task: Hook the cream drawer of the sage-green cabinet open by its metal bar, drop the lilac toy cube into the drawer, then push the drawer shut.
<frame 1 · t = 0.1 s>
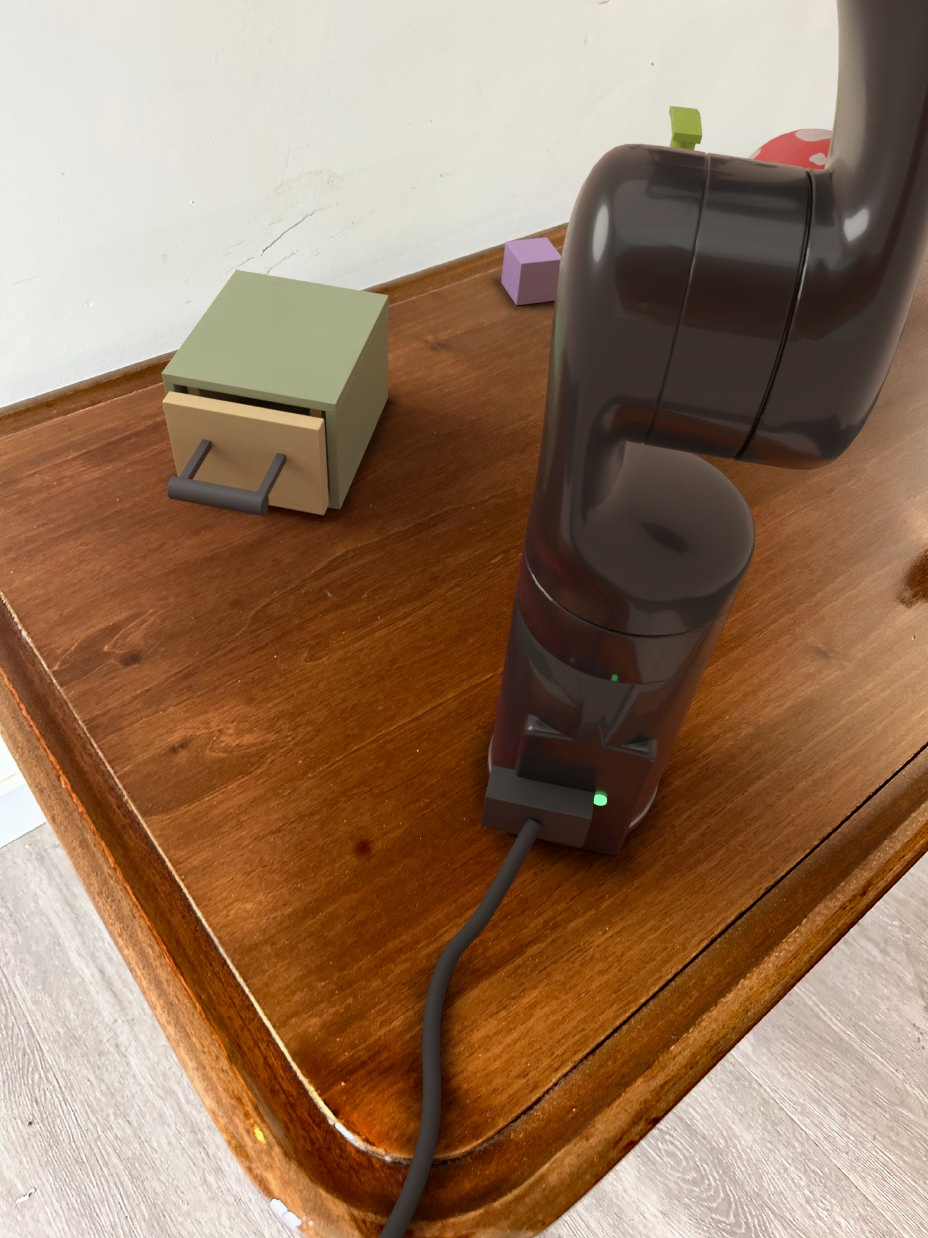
decorative mushroom: (769, 304, 88), on the table
soap dispenser: (628, 373, 79), on the table
drawer: (264, 428, 64), point 4 cm above the table, slide at 0.5 cm
lilac toy cube: (528, 291, 86), on the table
cabinet: (291, 437, 70), on the table
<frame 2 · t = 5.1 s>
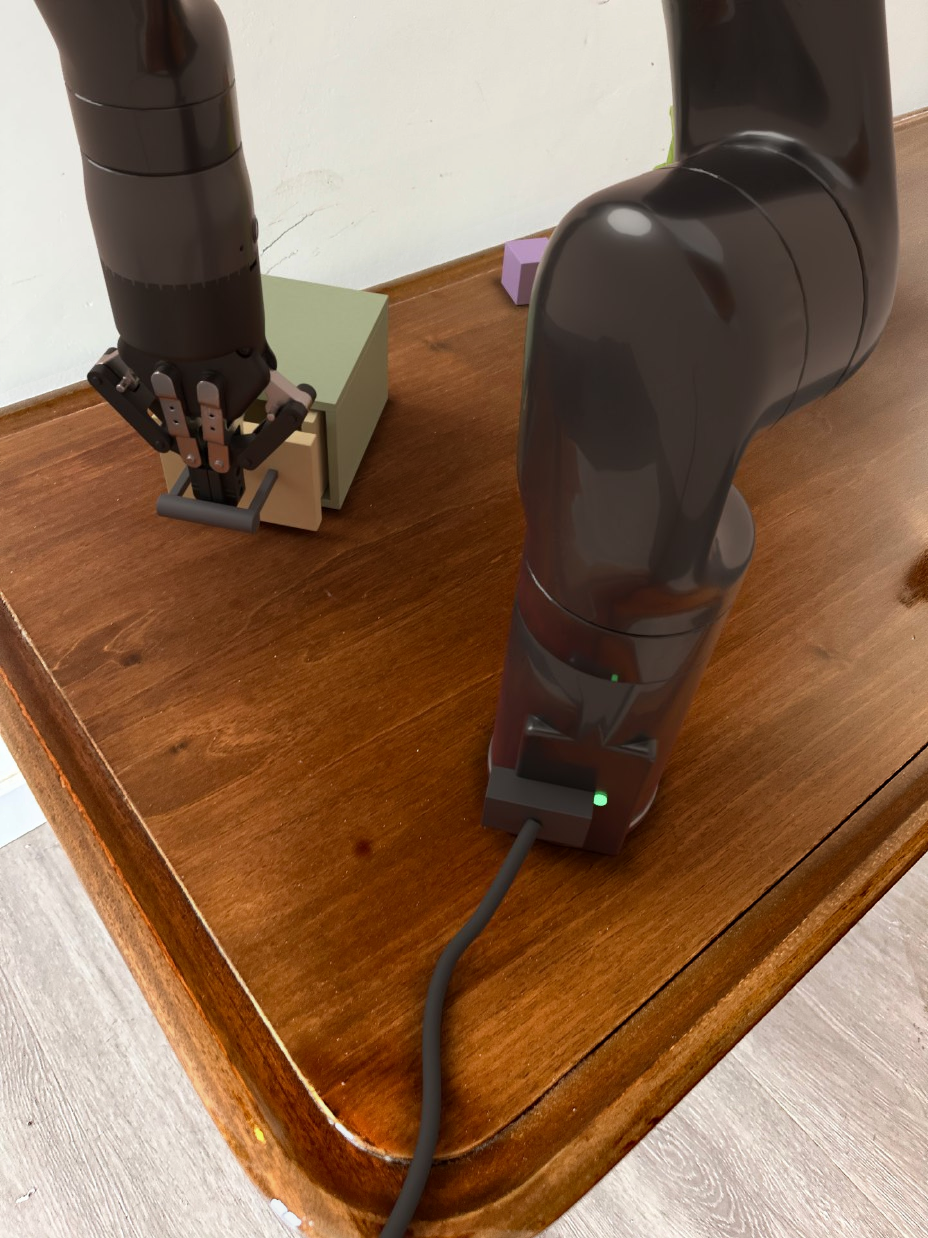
hand: (222, 504, 59), 4 cm above the table, tool pointing down, fingers closed
drawer: (255, 442, 63), point 4 cm above the table, slide at 2.1 cm, touching gripper
everything else where it was.
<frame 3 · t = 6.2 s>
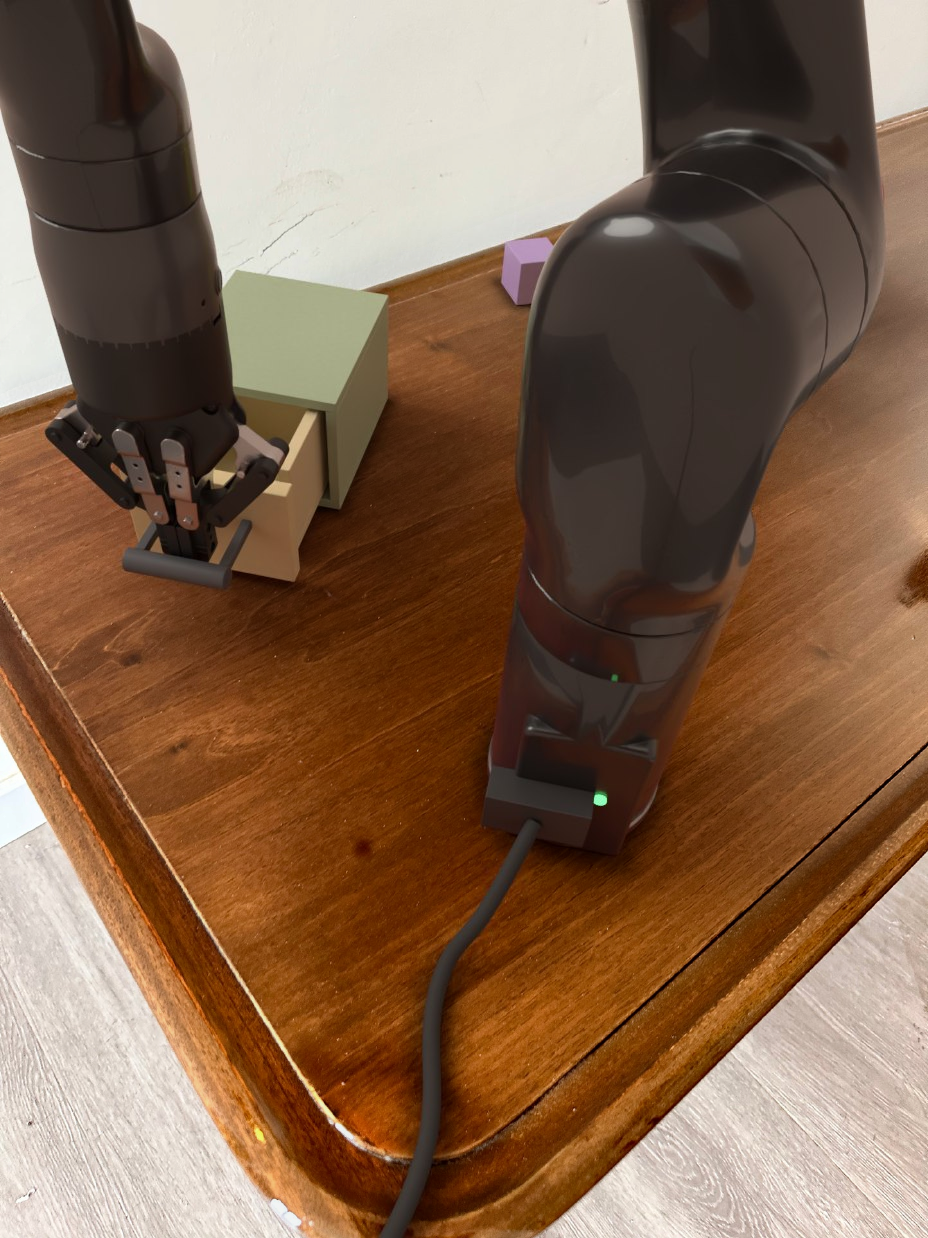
hand: (193, 560, 56), 4 cm above the table, tool pointing down, fingers closed
drawer: (230, 488, 60), point 4 cm above the table, slide at 6.9 cm, touching gripper
everything else where it was.
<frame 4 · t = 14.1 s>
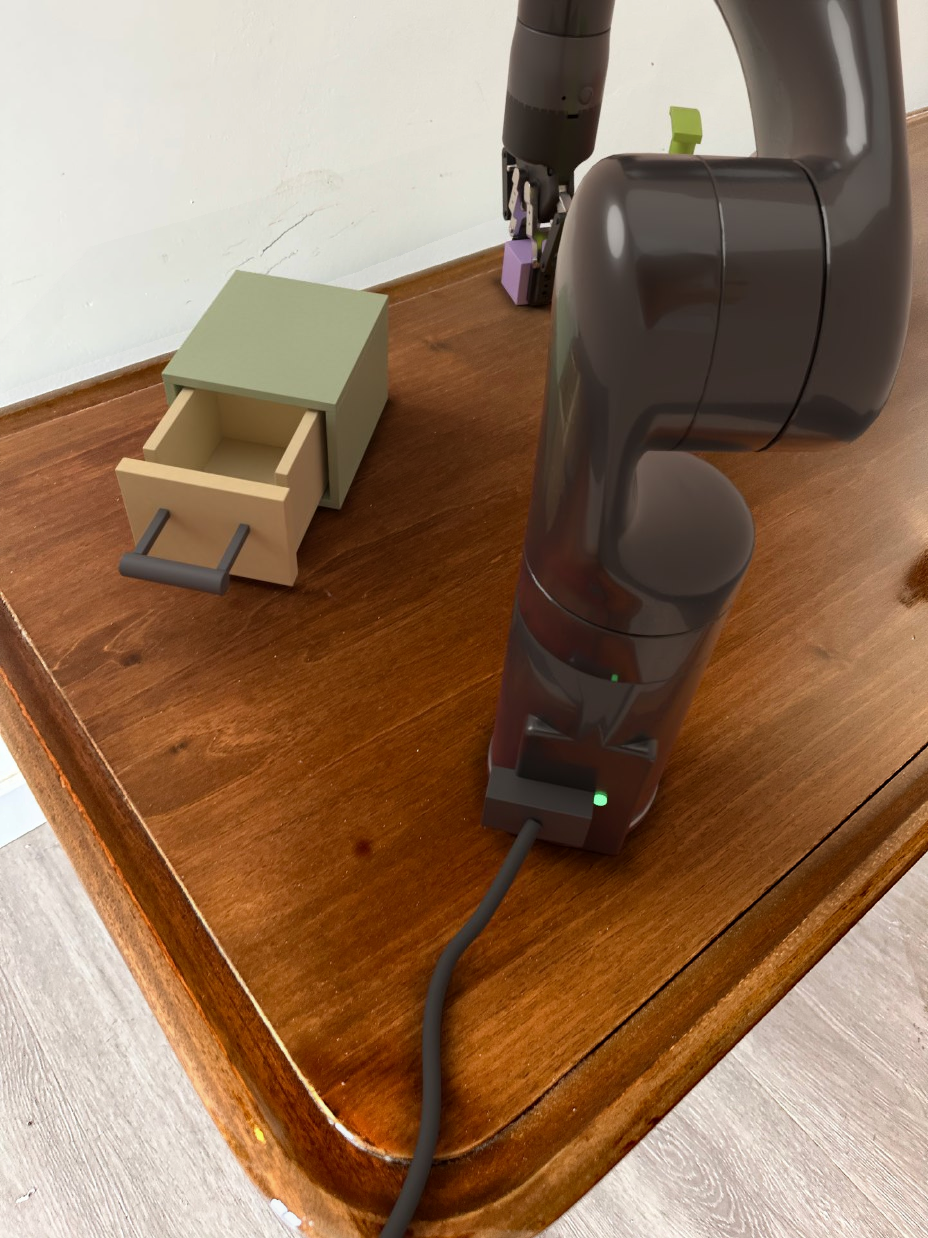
hand: (529, 288, 86), 0 cm above the table, tool pointing down, fingers closed on lilac toy cube, 4 cm apart
drawer: (228, 492, 60), point 4 cm above the table, slide at 7.3 cm
lilac toy cube: (528, 291, 86), on the table, touching gripper
everything else where it was.
when the fingers open (9 cm above the table, at t = 21.0 s): lilac toy cube drops 5 cm and tips over, resting on drawer.
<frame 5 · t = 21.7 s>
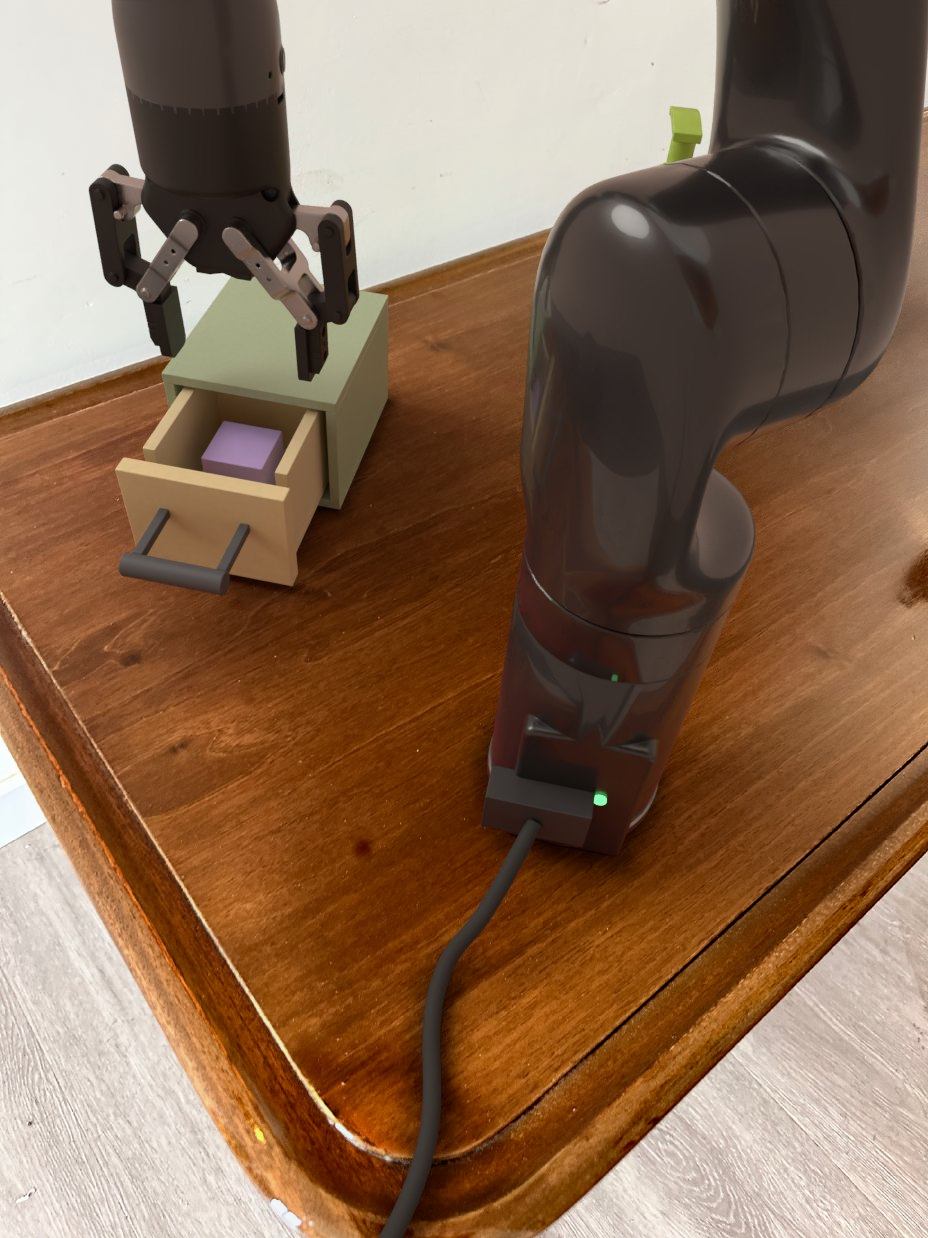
hand: (242, 361, 58), 11 cm above the table, tool pointing down, fingers open, 8 cm apart
drawer: (228, 492, 60), point 4 cm above the table, slide at 7.3 cm, touching lilac toy cube
lilac toy cube: (255, 449, 63), point 4 cm above the table, tilted 90°, touching drawer
everything else where it was.
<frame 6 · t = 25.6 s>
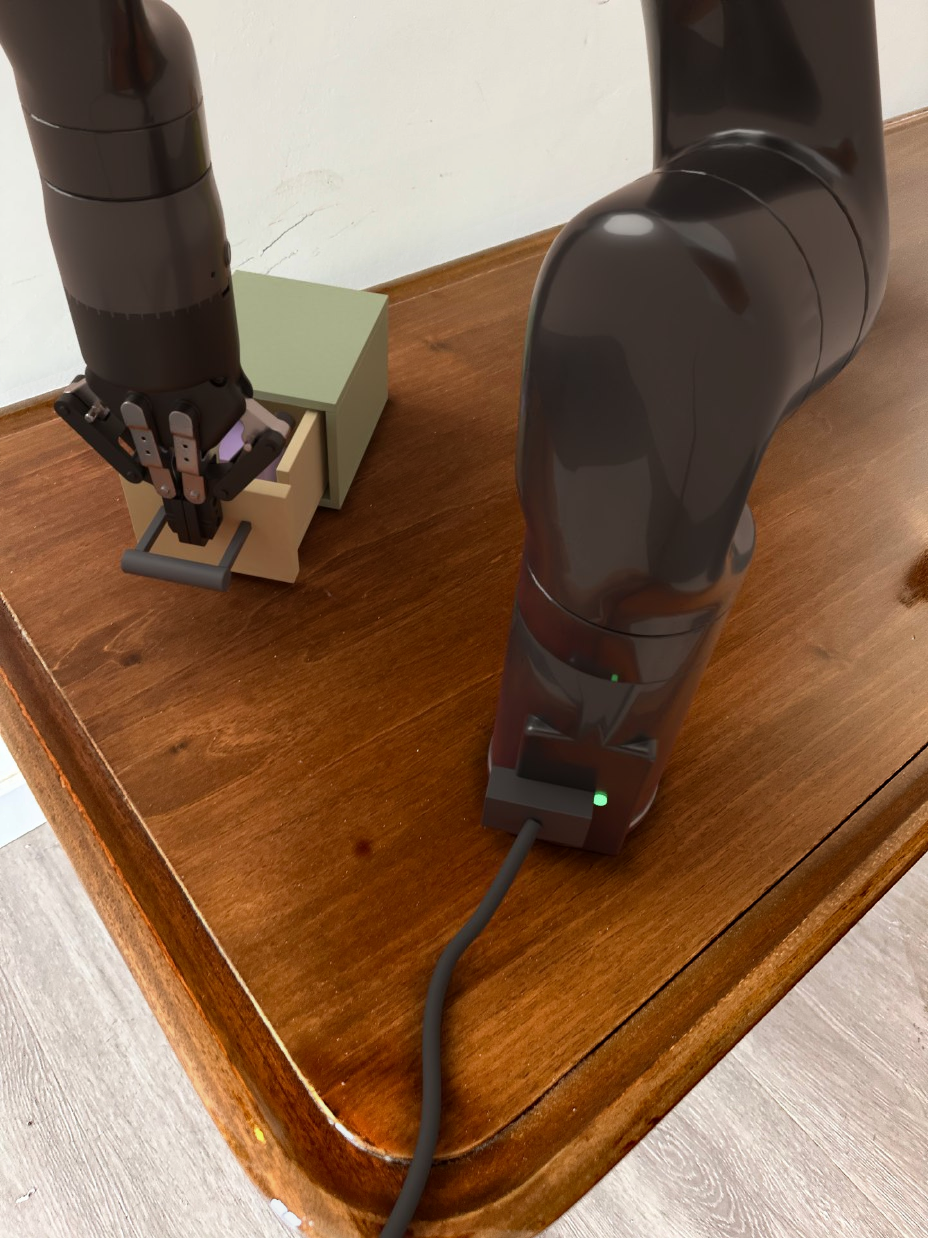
hand: (199, 535, 56), 5 cm above the table, tool pointing down, fingers closed
drawer: (229, 490, 60), point 4 cm above the table, slide at 7.0 cm, touching gripper, lilac toy cube
everything else where it was.
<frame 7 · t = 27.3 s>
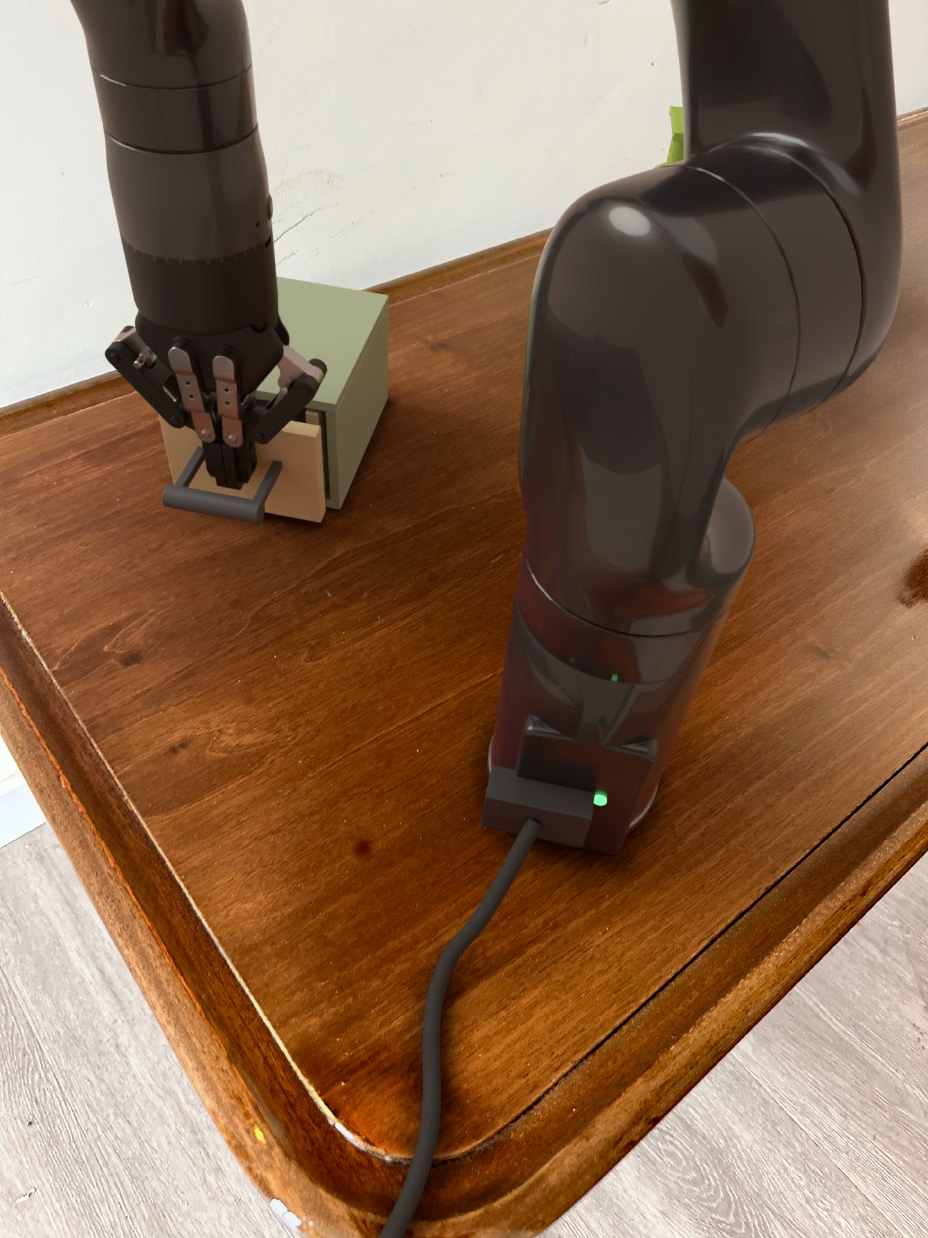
hand: (234, 480, 61), 4 cm above the table, tool pointing down, fingers closed
drawer: (260, 434, 63), point 4 cm above the table, slide at 1.3 cm, touching gripper, lilac toy cube
lilac toy cube: (284, 397, 67), point 4 cm above the table, tilted 90°, touching drawer
everything else where it was.
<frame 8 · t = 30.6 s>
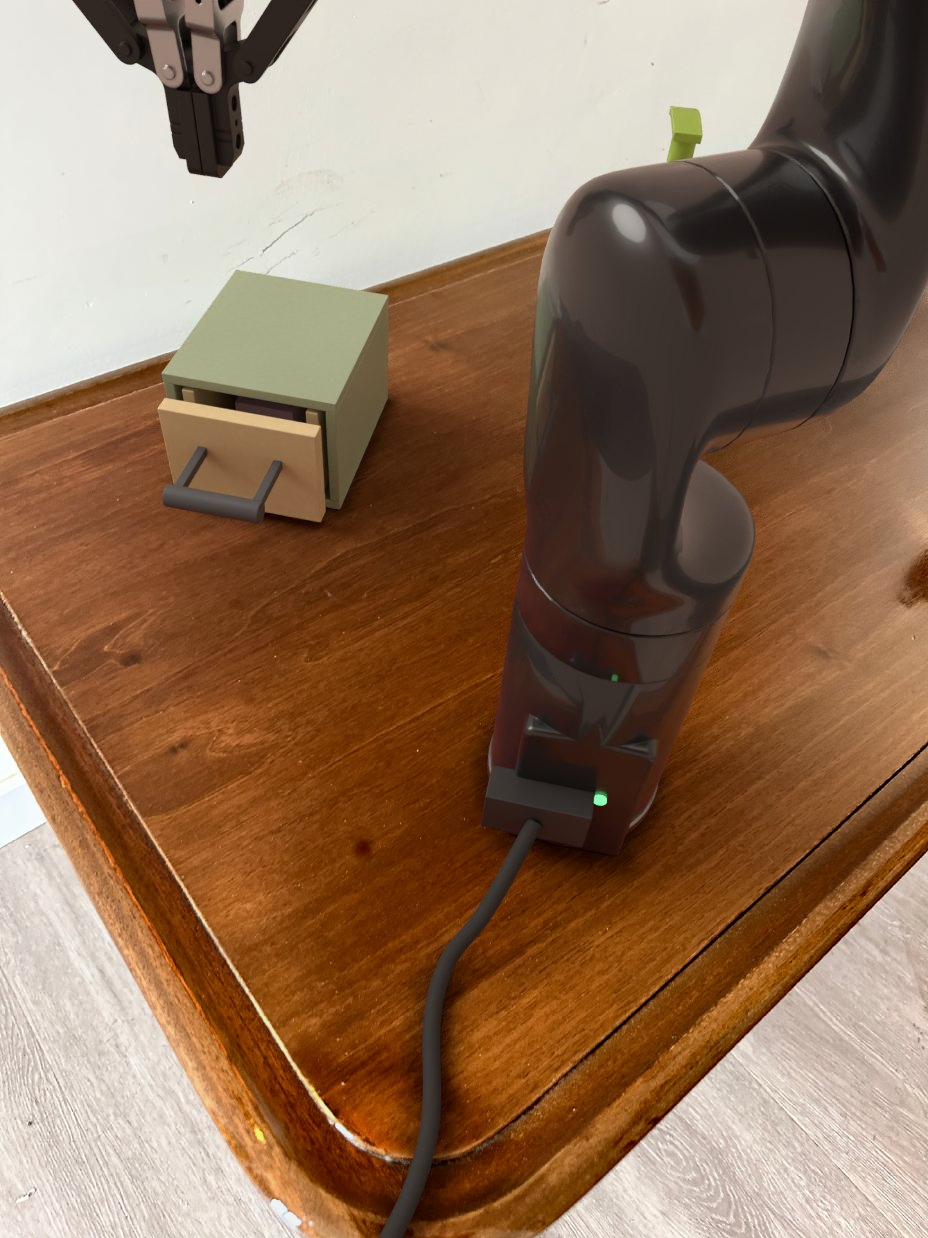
hand: (213, 168, 44), 25 cm above the table, tool pointing down, fingers closed
drawer: (260, 434, 63), point 4 cm above the table, slide at 1.2 cm, touching lilac toy cube
everything else where it was.
at the end: drawer pulled out 7.3 cm at the most during the clip, back to 1.2 cm at the end; lilac toy cube inside the target area in the cabinet (0.5 cm from its centre), point 3.9 cm above the cabinet's base; drawer slide at 1.2 cm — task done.
